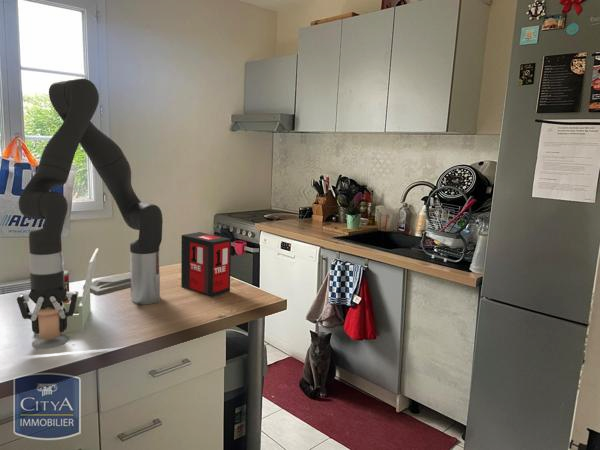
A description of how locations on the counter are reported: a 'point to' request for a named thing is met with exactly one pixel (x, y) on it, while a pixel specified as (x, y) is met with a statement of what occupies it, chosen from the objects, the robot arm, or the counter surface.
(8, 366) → the counter surface
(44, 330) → the terracotta pot
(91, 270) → the glass lid
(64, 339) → the slate saucer
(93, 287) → the soap mold
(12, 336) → the counter surface
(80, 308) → the box
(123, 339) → the counter surface
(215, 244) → the cleaning product box
